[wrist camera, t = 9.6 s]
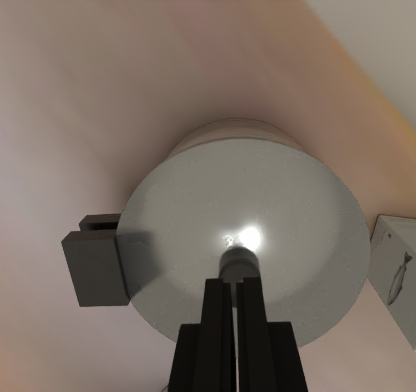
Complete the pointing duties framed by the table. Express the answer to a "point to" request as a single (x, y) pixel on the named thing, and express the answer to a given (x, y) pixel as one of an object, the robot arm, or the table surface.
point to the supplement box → (396, 270)
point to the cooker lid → (230, 238)
